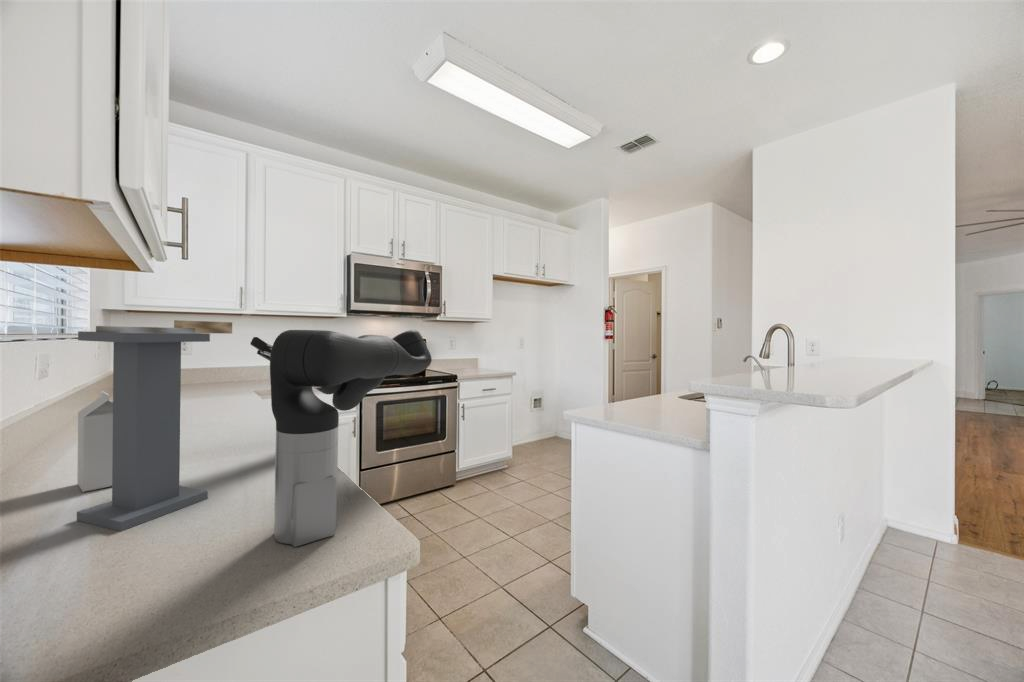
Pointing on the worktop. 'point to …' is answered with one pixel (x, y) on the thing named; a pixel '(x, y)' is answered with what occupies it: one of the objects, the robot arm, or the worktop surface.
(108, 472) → the milk carton
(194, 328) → the trowel
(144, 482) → the stand
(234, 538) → the worktop surface
